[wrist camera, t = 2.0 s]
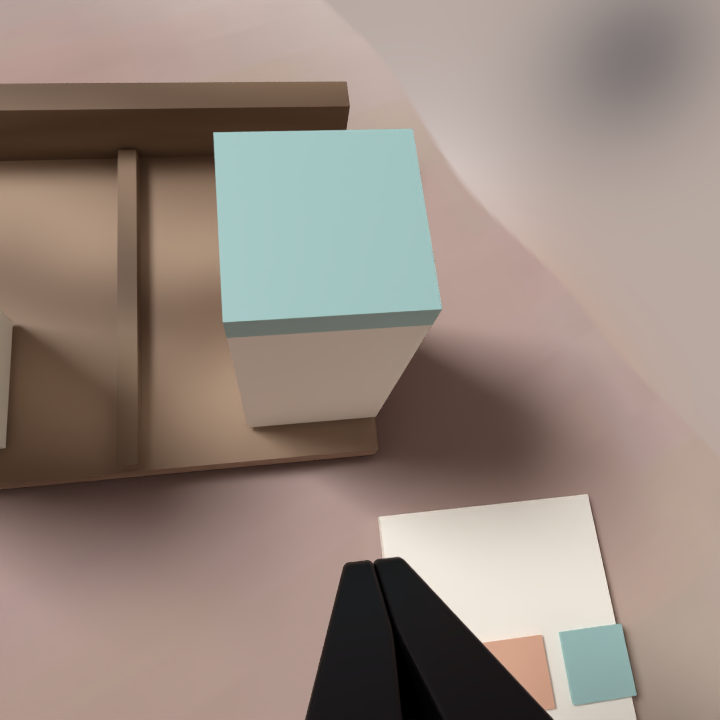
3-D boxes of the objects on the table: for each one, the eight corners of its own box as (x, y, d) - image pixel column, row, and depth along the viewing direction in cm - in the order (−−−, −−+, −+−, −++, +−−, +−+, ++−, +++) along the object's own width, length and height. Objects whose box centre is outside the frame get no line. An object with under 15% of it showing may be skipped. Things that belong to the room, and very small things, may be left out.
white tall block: (375, 416, 20) (442, 309, 12) (248, 427, 19) (222, 322, 11) (361, 300, 21) (412, 128, 13) (241, 307, 21) (213, 132, 12)
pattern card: (660, 844, 18) (672, 853, 18) (418, 892, 17) (422, 903, 17) (585, 495, 21) (593, 493, 21) (374, 517, 20) (377, 516, 20)
